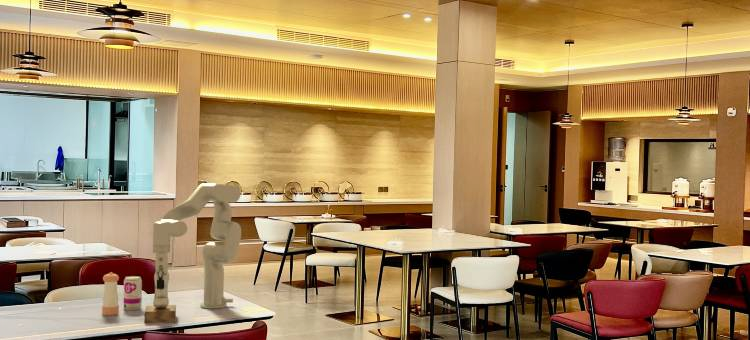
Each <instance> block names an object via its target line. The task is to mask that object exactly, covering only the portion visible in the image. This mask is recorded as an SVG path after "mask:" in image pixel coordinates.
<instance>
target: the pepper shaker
mask: <svg viewBox="0 0 750 340" xmlns="http://www.w3.org/2000/svg"><path fill="white" fill-rule="evenodd" d="M119 279H120V277H119V275H118V274H116V273H114V272H112V271H111V272H109V273H107V274H104V275H103V277H102V280H103V282H104V292H103V297H102V307H101V314H102V315H103V316H113V315H114V316H115V315H118V314H119V313H120V311H119V310H120V306H119V294H118V281H119Z"/></svg>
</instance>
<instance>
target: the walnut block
mask: <svg viewBox="0 0 750 340" xmlns="http://www.w3.org/2000/svg"><path fill="white" fill-rule="evenodd" d="M144 309H145V310H144V324H154V323H155V324H157V323H158V324H159V323H175V322H176V317H177V316H176V315H177V314H176V313H177V305H176V304H168V306H167V307H166V308H162V309H160V308H155V307H154V305H146V306H145V308H144Z"/></svg>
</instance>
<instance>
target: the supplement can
mask: <svg viewBox="0 0 750 340" xmlns="http://www.w3.org/2000/svg"><path fill="white" fill-rule="evenodd" d="M142 282H143V280H142V278H141V276H136V275H135V276H134V275H132V276H125V278H124V279H123V309H124V310H126V311H137V310H140V309H141V308H142V302H143V301H142V299H143V298H142V296H143V295H142V291H143V290H142V288H143V283H142Z"/></svg>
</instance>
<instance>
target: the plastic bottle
mask: <svg viewBox="0 0 750 340" xmlns="http://www.w3.org/2000/svg"><path fill="white" fill-rule="evenodd" d="M157 273H158V272H157ZM157 275H158V274H157ZM157 275H156V272H155V273H154V275H153V280H154V295H153V297H154V298H153V301H152V303H153V306H154V307H155V308H160V309H162V308H166V307H167V306H168V305H170V304H169V302H170V301H169V300H170V299H169V294H168V293H169V292H168V290H169V289H168V286H169V280H170V274H169V272H168V274H167V275H166V274H164V289H157ZM162 278H163V277H162Z"/></svg>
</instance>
